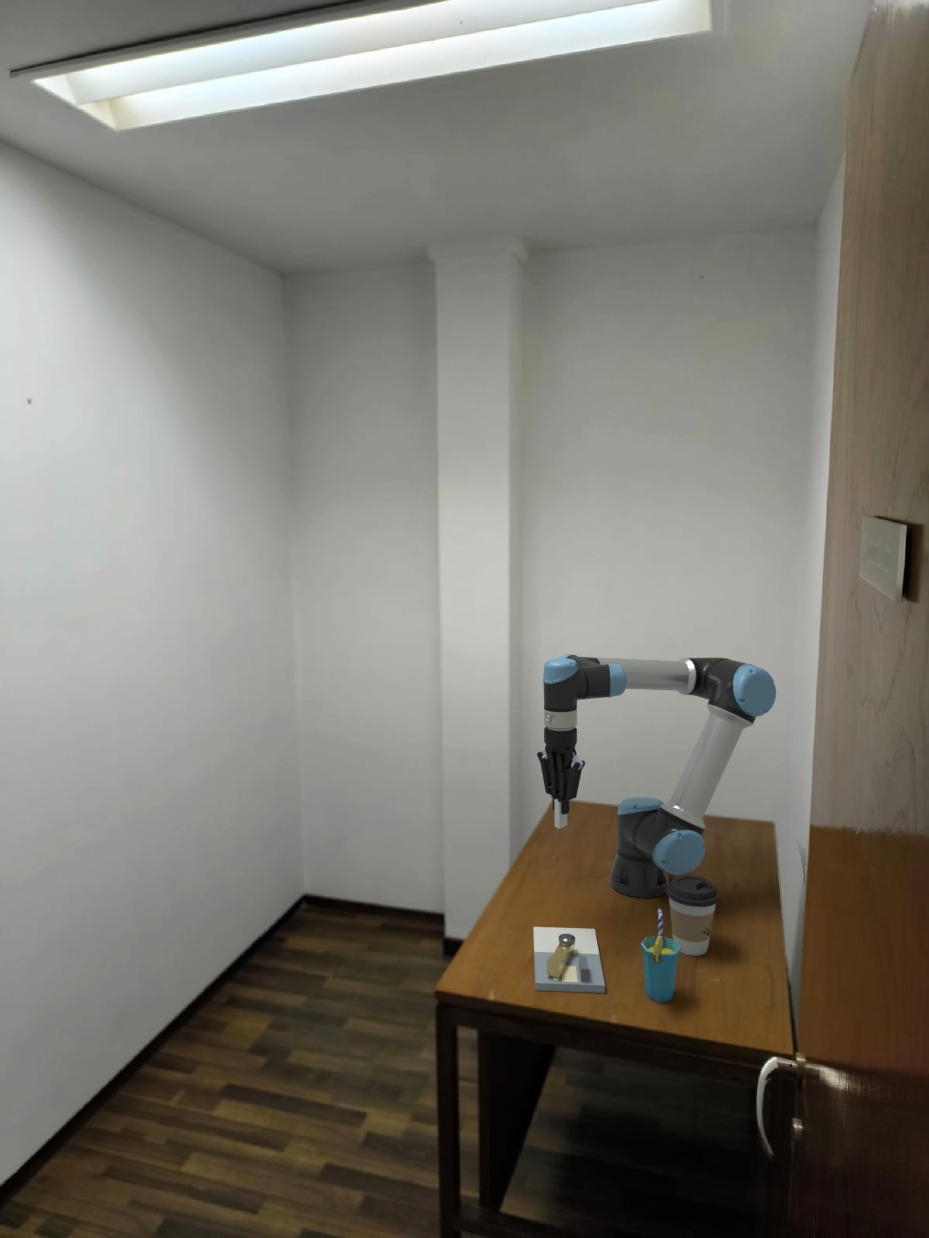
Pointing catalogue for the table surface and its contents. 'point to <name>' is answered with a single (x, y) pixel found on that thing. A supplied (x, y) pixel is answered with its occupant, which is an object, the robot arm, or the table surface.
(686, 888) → the coffee cup
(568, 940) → the latch bar
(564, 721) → the robot arm
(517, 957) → the table surface
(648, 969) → the cup
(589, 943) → the door fixture
